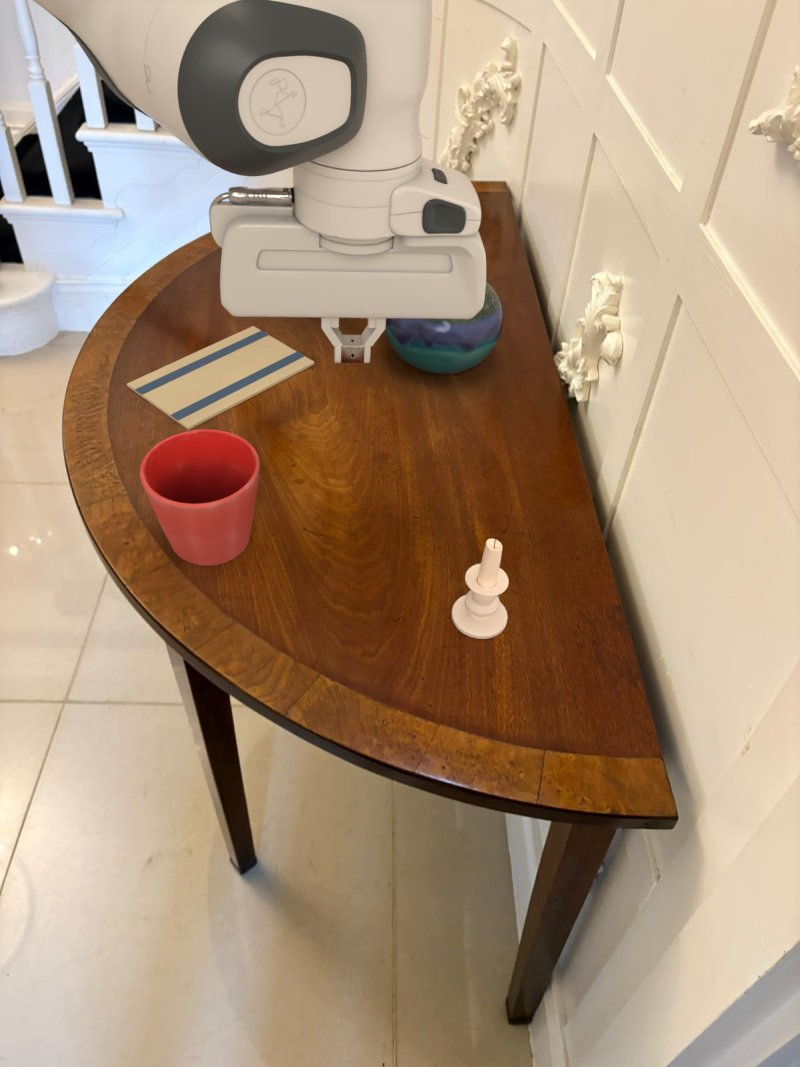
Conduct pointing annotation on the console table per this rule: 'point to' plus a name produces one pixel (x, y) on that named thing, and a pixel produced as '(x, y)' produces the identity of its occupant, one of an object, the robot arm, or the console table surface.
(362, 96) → the robot arm
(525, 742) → the console table surface
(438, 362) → the vase
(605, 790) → the console table surface
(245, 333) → the cloth
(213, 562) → the flower pot
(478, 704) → the console table surface
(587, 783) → the console table surface
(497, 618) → the candle
